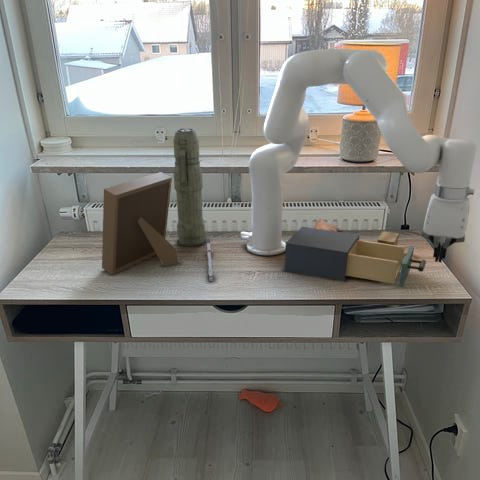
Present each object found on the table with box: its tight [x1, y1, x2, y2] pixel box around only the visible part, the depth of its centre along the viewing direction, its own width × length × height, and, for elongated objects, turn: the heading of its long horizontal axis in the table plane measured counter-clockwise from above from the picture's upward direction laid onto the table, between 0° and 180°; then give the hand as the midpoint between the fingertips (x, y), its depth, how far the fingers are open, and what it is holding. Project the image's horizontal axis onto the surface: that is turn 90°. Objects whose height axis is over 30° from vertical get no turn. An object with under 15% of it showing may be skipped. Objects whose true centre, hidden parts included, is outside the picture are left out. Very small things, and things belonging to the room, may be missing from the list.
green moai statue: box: [172, 128, 206, 247], centre depth 163 cm, size 9×12×35 cm
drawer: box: [345, 239, 427, 288], centre depth 145 cm, size 21×13×7 cm, turn 66°
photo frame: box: [101, 171, 179, 275], centre depth 149 cm, size 15×22×25 cm
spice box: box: [376, 231, 400, 246], centre depth 160 cm, size 5×8×6 cm, turn 156°
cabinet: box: [284, 226, 360, 282], centre depth 151 cm, size 18×15×9 cm
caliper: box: [206, 235, 214, 282], centre depth 152 cm, size 20×1×6 cm, turn 5°
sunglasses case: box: [314, 218, 340, 232], centre depth 172 cm, size 18×7×7 cm
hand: (438, 260), depth 138 cm, fingers closed
